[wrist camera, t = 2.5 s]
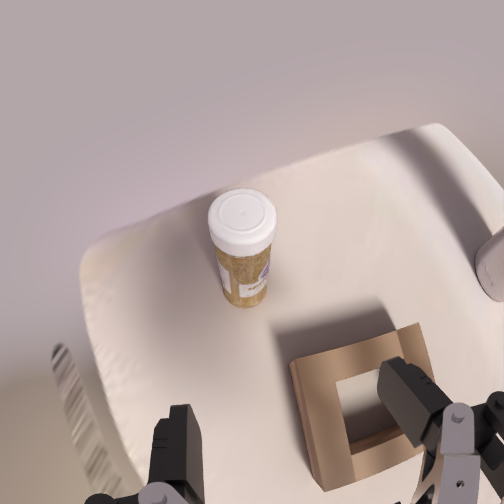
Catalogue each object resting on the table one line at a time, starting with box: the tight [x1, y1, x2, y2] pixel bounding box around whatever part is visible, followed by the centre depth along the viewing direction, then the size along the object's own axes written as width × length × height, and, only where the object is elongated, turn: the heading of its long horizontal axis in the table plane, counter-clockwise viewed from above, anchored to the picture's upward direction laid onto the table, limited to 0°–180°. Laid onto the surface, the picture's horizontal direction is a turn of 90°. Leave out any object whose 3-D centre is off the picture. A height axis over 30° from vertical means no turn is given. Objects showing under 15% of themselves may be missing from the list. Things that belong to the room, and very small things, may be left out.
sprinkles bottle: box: [208, 188, 277, 308], centre depth 24 cm, size 5×4×13 cm
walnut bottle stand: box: [289, 322, 435, 492], centre depth 22 cm, size 13×13×4 cm
